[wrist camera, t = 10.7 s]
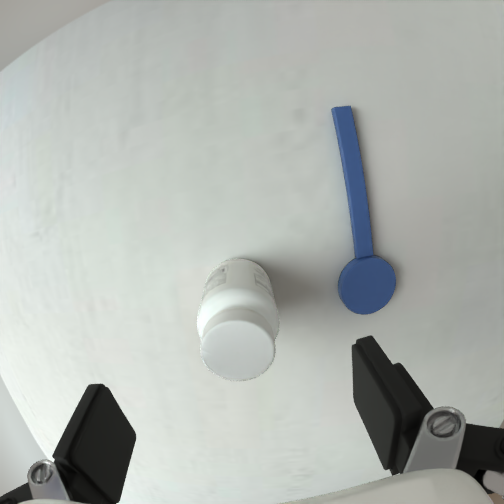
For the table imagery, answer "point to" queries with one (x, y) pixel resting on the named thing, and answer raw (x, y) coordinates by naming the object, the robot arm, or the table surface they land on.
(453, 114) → the table surface
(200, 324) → the pill bottle
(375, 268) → the spoon
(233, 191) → the table surface
